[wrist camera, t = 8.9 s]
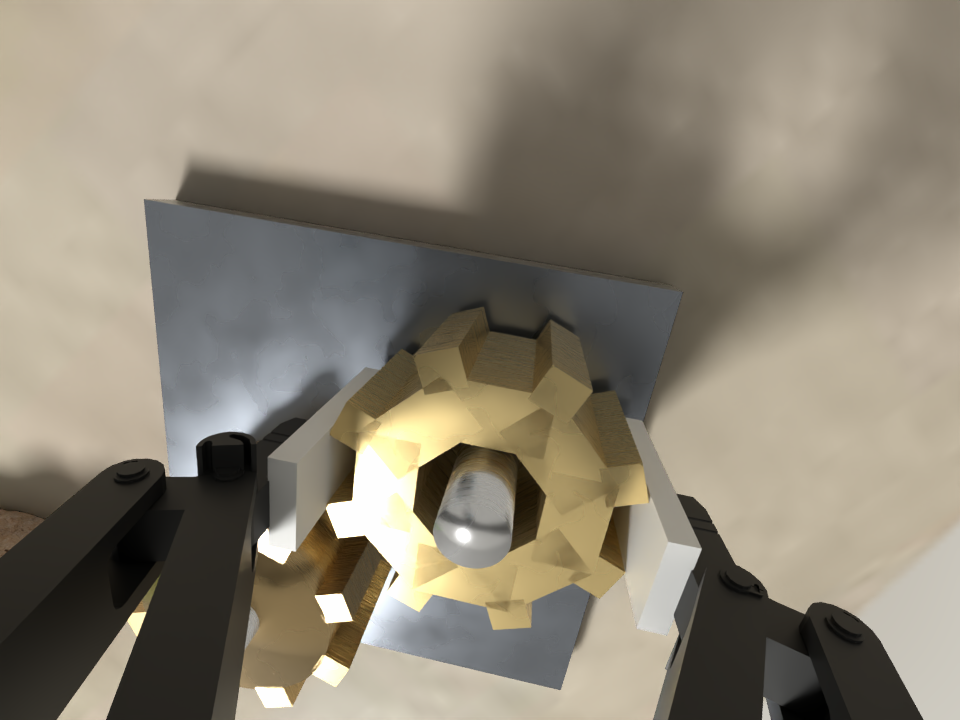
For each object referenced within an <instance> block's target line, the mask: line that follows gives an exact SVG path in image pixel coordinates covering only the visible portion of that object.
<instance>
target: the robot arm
mask: <svg viewBox="0 0 960 720" xmlns="http://www.w3.org/2000/svg"><path fill="white" fill-rule="evenodd" d="M378 371H379V370H377V369H372V368H367V367H365V368H364V369H363V370H362V371H361V372H360V373H359V374H358V375H357V376H356V377H354V378H353V379H352V380H351V381H350V382H349V383H348V384H347V385H346V386H345V387H344V388H342V389H341V390H340V391H339V392H338V393H337V394H336V395H335V396H334V397H333V398H332V399H330V400H329V401H328V402H327V403H326V404H325V405H324V406H323V407H322V408H321V409H320V410H318V411H317V412H316V413H315V414H314V415H313V416H312V417H311V418H310V419H309V420H306V419H301V418H296V417H295V418H293V419H290V420H288V421H285V422H283V423H281V424H279V425H278V426H277V427H276V428H275V429H273V430H272V431H271V433H269V434H267V435H266V436H265V437H264V438H263V440H260V441H259V442H258V443H257V444H256V439H255V438H254V437H252V436H251V435H249V434H246V433H242V432H223V433H218V434H214V435H211V436H208V437H206V438H204V439H203V440H201V441H200V442H199V443H198V444H197V445H196V457H197V472H198V476H196V477H166V476H165V468H164V465H163V464H162V463H160V462H159V461H157V460H152V459H132V460H127V461H123V462H120V463H118V464H115V465H112V466H110V467H109V468H107V469H105V470H104V471H102V472H101V473H100V474H98V475H97V476H96V477H95V478H94V479H93V480H91V481H90V482H89V483H88V484H87V485H86V486H84V487H83V488H82V489H81V490H80V491H78V492H77V493H76V494H75V495H74V496H73V497H71V498H70V499H69V500H68V501H67V502H65V503H64V504H63V505H62V506H61V507H60V508H58V509H57V510H56V511H55V512H54V513H52V514H51V515H50V516H49V517H48V518H47V519H45V520H44V521H43V522H42V523H41V524H39V525H38V526H37V527H36V528H35V529H34V530H32V531H31V532H30V533H29V534H28V535H26V536H25V537H24V538H23V539H22V540H21V541H19V542H18V543H17V544H16V545H15V546H13V547H12V548H11V549H10V550H9V551H8V552H6V553H5V554H4V555H3V556H2V557H1V558H0V720H57V718H58V717H59V715H60V714H61V713H62V711H63V710H64V708H65V707H66V706H67V704H68V703H69V701H70V700H71V699H72V697H73V696H74V694H75V693H76V692H77V690H78V689H79V687H80V686H81V685H82V683H83V682H84V680H85V679H86V678H87V676H88V675H89V673H90V672H91V671H92V669H93V668H94V666H95V665H96V664H97V662H98V661H99V659H100V658H101V657H102V655H103V654H104V652H105V651H106V650H107V648H108V647H109V645H110V644H111V643H112V641H113V640H114V638H115V637H116V636H117V634H118V633H119V631H120V630H121V629H122V627H123V626H124V624H125V623H126V622H127V620H128V619H129V617H130V616H131V615H132V613H133V612H134V610H135V609H136V608H137V606H138V605H139V603H140V602H141V601H142V599H143V598H144V596H145V595H146V594H147V592H148V591H149V589H150V588H151V587H152V585H153V584H154V582H155V581H156V580H157V578H158V577H159V575H160V574H161V575H160V577H159V580H158V583H157V585H156V588H155V591H154V593H153V596H152V599H151V601H150V604H149V607H148V609H147V612H146V615H145V617H144V620H143V623H142V625H141V628H140V631H139V633H138V636H137V639H136V641H135V644H134V647H133V649H132V652H131V655H130V657H129V660H128V663H127V665H126V668H125V671H124V673H123V676H122V679H121V681H120V684H119V687H118V689H117V692H116V695H115V697H114V700H113V703H112V705H111V708H110V711H109V713H108V716H107V719H106V720H235V714H236V707H237V700H238V693H239V686H240V679H241V671H242V664H243V657H244V650H245V643H246V636H247V629H248V622H249V615H250V608H251V601H252V594H253V587H254V580H255V573H256V565H257V558H258V540H259V539H260V538H261V536H262V535H263V534H264V533H265V532H266V530H267V529H268V546H272V547H276V548H281V549H285V550H290V551H294V552H296V551H297V549H298V548H299V546H300V545H301V544H302V542H303V541H304V539H305V538H306V536H307V535H308V534H309V532H310V531H311V529H312V528H313V527H314V525H315V524H316V522H317V521H318V520H319V518H320V517H321V515H322V514H323V513H324V511H325V510H326V504H327V503H328V502H329V500H330V499H331V497H332V496H333V495H334V493H335V492H336V491H337V489H338V488H339V486H340V485H341V484H342V482H343V481H344V480H345V478H346V477H347V475H348V474H349V473H350V471H351V470H352V469H353V467H354V466H355V463H356V451H355V450H353V449H352V448H350V447H348V446H347V445H345V444H344V443H342V442H340V441H339V440H337V439H335V438H334V437H332V436H330V431H331V429H332V427H333V426H334V424H335V422H336V420H337V418H338V417H339V415H340V413H341V411H342V409H343V408H344V406H345V404H346V402H347V401H348V400H349V399H350V398H351V397H352V396H353V395H354V394H355V393H356V392H357V391H358V390H359V389H360V388H362V387H363V386H364V385H365V384H366V383H367V382H368V381H369V380H370V379H371V378H372V377H373V376H374V375H375V374H376V373H377V372H378ZM625 418H626V417H625ZM626 421H627V423H628V426H629V428H630V431H631V434H632V436H633V439H634V441H635V444H636V447H637V449H638V452H639V455H640V457H641V460H642V462H643V467H644V474H645V481H646V487H647V494H648V500H649V503H644V504H635V505H626V506H618V507H614V508H613V511H612V515H613V520H614V524H615V528H616V533H617V537H618V541H619V546H620V551H621V555H622V560H623V564H624V569H625V574H624V575H625V579H626V584H627V588H628V593H629V597H630V602H631V606H632V611H633V615H634V620H635V624H636V629H640V630H644V631H649V632H653V633H658V634H662V635H666V636H667V635H668V632H669V630H670V627H671V625H672V622H673V620H674V618H675V621H676V625H677V628H678V631H679V636H678V638H677V641H676V643H675V645H674V648H673V650H672V653H671V655H670V657H669V660H668V662H667V665H666V667H665V669H666V670H667V673H666V676H665V680H664V684H663V687H662V691H661V694H660V698H659V701H658V705H657V708H656V712H655V715H654V719H653V720H762V708H763V697H765V698H766V700H767V705H768V709H769V713H770V717H771V720H923V718H922V716H921V715H920V713H919V711H918V709H917V707H916V705H915V704H914V702H913V700H912V698H911V696H910V694H909V693H908V691H907V689H906V687H905V685H904V684H903V682H902V680H901V678H900V676H899V674H898V673H897V671H896V669H895V667H894V665H893V663H892V661H891V660H890V658H889V656H888V654H887V652H886V651H885V649H884V647H883V645H882V643H881V641H880V640H879V639H878V637H877V636H876V635H875V633H874V632H873V631H872V630H871V629H870V628H869V627H868V626H867V625H865V624H864V623H863V622H862V621H861V620H860V619H859V618H857V617H856V616H854V615H852V614H851V613H849V612H848V611H846V610H843V609H841V608H839V607H837V606H834V605H831V604H827V603H823V602H819V603H812V605H811V606H810V607H809V608H808V610H807V612H806V614H803V613H800V612H798V611H796V610H793V609H791V608H789V607H787V606H784V605H782V604H780V603H777V602H775V601H773V600H771V599H769V598H768V594H767V590H766V589H765V587H764V586H763V585H762V583H761V582H760V581H759V580H758V579H757V578H756V577H755V576H753V575H752V574H751V573H750V572H748V571H746V570H745V569H743V568H741V567H740V566H737V565H735V563H734V561H733V559H732V557H731V555H730V553H729V552H728V550H727V548H726V546H725V544H724V542H723V540H722V539H721V537H720V535H719V534H718V531H717V529H716V527H715V526H714V524H712V520H711V518H710V516H709V515H708V513H707V511H706V509H705V508H704V507H703V506H702V505H701V504H700V503H699V502H698V501H697V500H695V499H694V498H693V497H690V496H685V495H680V494H676V492H675V490H674V488H673V486H672V484H671V481H670V479H669V477H668V475H667V473H666V471H665V469H664V466H663V464H662V462H661V460H660V458H659V456H658V454H657V451H656V449H655V447H654V445H653V443H652V441H651V439H650V436H649V434H648V432H647V430H646V428H645V426H644V423H643V421H641V420H636V419H631V418H626Z"/></svg>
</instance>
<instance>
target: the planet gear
mask: <svg viewBox="0 0 960 720" xmlns="http://www.w3.org/2000/svg"><path fill="white" fill-rule="evenodd" d="M592 392H593V389H592V385H591V381H590V377H589V373H588V370H587V366H586V362H585V358H584V354H583V350H582V347H581V343H580V339H579V337H578V336H576V335H575V334H573V333H572V332H570V331H568V330H567V329H565V328H564V327H562V326H561V325H559V324H558V323H556V322H554V321H553V320H551V319H550V320H549V322H548V323H547V325H546V326H545V327H544V329H543V330H542V332H541V333H540V335H539V336H538V338H537V339H536V340H535V339H530V338H525V337H519V336H514V335H509V334H504V333H498V332H493V331H490V330H489V326H488V322H487V318H486V313H485V309H484V307H480V308H475V309H470V310H465V311H461V312H456V313H452V314H451V315H450V316H449V317H448V318H447V319H446V320H445V321H444V322H443V323H442V325H441V326H440V327H439V328H438V329H437V330H436V331H435V332H434V333H433V334H432V336H431V337H430V338H429V339H428V340H427V341H426V342H425V343H424V344H423V346H422V347H421V348H420V349H419V350H418V351H417V352H416V353H415V354H414V355H411V354H410V353H408V352H407V351H405V350H403V349H401V350H400V351H399V352H398V353H397V354H396V355H395V356H394V357H393V358H392V359H390V360H389V361H388V362H387V363H386V364H385V365H384V366H383V367H382V368H381V369H380V370H379V371H378V372H377V373H376V374H375V375H374V376H373V377H372V378H371V379H370V380H369V381H368V382H367V383H366V384H365V385H364V386H363V387H362V388H360V389H359V390H358V391H357V392H356V393H355V394H354V395H353V396H352V397H351V398H350V399H349V400H348V401H347V402H346V404H345V406H344V408H343V409H342V411H341V413H340V415H339V417H338V418H337V420H336V422H335V424H334V426H333V427H332V429H331V431H330V436H332V437H334V438H335V439H337V440H339V441H340V442H342V443H344V444H345V445H347V446H348V447H350V448H352V449H353V450H355V451H356V463H355V466H354V467H353V469H352V470H351V471H350V473H349V474H348V475H347V477H346V478H345V480H344V481H343V482H342V484H341V485H340V486H339V488H338V489H337V491H336V492H335V493H334V495H333V496H332V497H331V499H330V500H329V502H328V503H327V504H326V508H327V511H328V513H329V516H330V519H331V521H332V524H333V526H334V529H335V532H336V534H337V537H338V538H342V537H351V536H360V535H366V537H367V538H368V539H369V540H370V541H371V542H372V543H373V545H374V546H375V547H376V548H377V549H378V550H379V552H380V553H381V554H382V555H383V556H384V557H385V558H386V560H387V561H388V562H389V563H390V564H391V565H392V567H393V568H394V569H395V570H396V571H395V573H394V576H393V578H392V580H391V583H390V585H389V588H388V590H387V592H386V593H388V594H389V595H391V596H393V597H394V598H396V599H398V600H399V601H401V602H403V603H405V604H406V605H408V606H410V607H411V608H413V609H415V610H416V611H418V612H419V611H420V610H421V609H422V608H423V606H424V605H425V604H426V603H427V601H428V600H429V599H430V597H431V596H432V595H437V596H441V597H446V598H450V599H454V600H458V601H462V602H467V603H471V604H475V605H479V606H483V607H487V611H488V614H489V618H490V621H491V625H492V628H493V630H501V629H516V628H531V618H532V601H534V600H536V599H538V598H541V597H543V596H545V595H548V594H550V593H552V592H554V591H557V590H559V589H561V588H563V587H566V586H568V585H570V584H572V583H574V584H576V585H578V586H579V587H581V588H583V589H584V590H586V591H587V592H589V593H591V594H592V595H594V596H596V597H597V598H599V599H600V598H601V597H602V596H603V595H604V594H605V593H606V592H607V591H608V590H609V589H610V588H611V587H612V586H613V585H614V584H615V583H616V582H617V581H618V580H619V579H620V578H621V577H622V576H623V575H624V574H625V569H624V564H623V560H622V555H621V551H620V546H619V541H618V537H617V533H616V528H615V524H614V520H613V515H612V511H613V508H614V507H618V506H626V505H635V504H644V503H649V500H648V494H647V487H646V481H645V474H644V467H643V462H642V460H641V457H640V455H639V452H638V449H637V447H636V444H635V441H634V439H633V436H632V434H631V431H630V428H629V426H628V423H627V421H626V418H625V415H624V413H623V410H622V407H621V405H620V402H619V400H618V397H617V394H616V392H615V390H613V391H607V392H601V393H595V394H591V393H592ZM460 442H461V443H466V444H470V445H475V446H480V447H485V448H489V449H494V450H499V451H504V452H508V453H513V454H516V456H517V457H518V458H519V459H520V461H519V463H518V474H517V486H516V497H515V508H514V519H513V530H512V541H511V547H510V550H509V552H508V553H507V555H506V556H505V557H504V558H503V559H502V560H501V561H500V562H498V563H497V564H495V565H493V566H490V567H486V568H478V569H475V568H467V567H463V566H460V565H457V564H455V563H453V562H452V561H450V560H449V559H447V558H446V557H445V556H444V555H443V554H442V553H441V552H440V551H439V549H438V548H437V546H436V544H435V541H434V537H433V527H434V523H435V520H436V517H437V514H438V512H439V509H440V506H441V503H442V500H443V497H444V494H445V491H446V488H447V485H448V482H449V479H450V476H451V473H452V470H453V467H454V464H455V461H456V458H457V455H458V452H459V449H460V447H459V446H458V444H459V443H460Z"/></svg>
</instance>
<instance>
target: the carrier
mask: <svg viewBox="0 0 960 720" xmlns="http://www.w3.org/2000/svg"><path fill="white" fill-rule="evenodd" d="M144 204H145V215H146V226H147V237H148V247H149V258H150V269H151V279H152V290H153V301H154V312H155V322H156V333H157V344H158V354H159V365H160V376H161V387H162V397H163V408H164V419H165V429H166V440H167V451H168V462H169V472H170V477H196V476H198V472H197V457H196V445H197V444H198V443H199V442H200V441H201V440H203V439H204V438H206V437H208V436H211V435H214V434H218V433H223V432H242V433H246V434H249V435H251V436H252V437H254V438H255V439H256V444H257V443H258V442H259V441H260V440H263V438H264V437H265V436H266V435H267V434H269V433H271V431H272V430H273V429H275V428H276V427H277V426H278V425H279V424H281V423H283V422H285V421H288V420H290V419H293V418H295V417H296V418H301V419H306V420H309V419H310V418H311V417H312V416H313V415H314V414H315V413H316V412H317V411H318V410H320V409H321V408H322V407H323V406H324V405H325V404H326V403H327V402H328V401H329V400H330V399H332V398H333V397H334V396H335V395H336V394H337V393H338V392H339V391H340V390H341V389H342V388H344V387H345V386H346V385H347V384H348V383H349V382H350V381H351V380H352V379H353V378H354V377H356V376H357V375H358V374H359V373H360V372H361V371H362V370H363V369H364V368H365V367H367V368H372V369H377V370H380V369H381V368H382V367H383V366H384V365H385V364H386V363H387V362H388V361H389V360H390V359H392V358H393V357H394V356H395V355H396V354H397V353H398V352H399V351H400V350H401V349H403V350H405V351H407V352H408V353H410V354H411V355H414V354H415V353H416V352H417V351H418V350H419V349H420V348H421V347H422V346H423V344H424V343H425V342H426V341H427V340H428V339H429V338H430V337H431V336H432V334H433V333H434V332H435V331H436V330H437V329H438V328H439V327H440V326H441V325H442V323H443V322H444V321H445V320H446V319H447V318H448V317H449V316H450V315H451V314H452V313H456V312H461V311H465V310H470V309H475V308H480V307H484V309H485V313H486V318H487V322H488V326H489V330H490V331H493V332H498V333H504V334H509V335H514V336H519V337H525V338H530V339H535V340H536V339H537V338H538V336H539V335H540V333H541V332H542V330H543V329H544V327H545V326H546V325H547V323H548V322H549V320H550V319H551V320H553V321H554V322H556V323H558V324H559V325H561V326H562V327H564V328H565V329H567V330H568V331H570V332H572V333H573V334H575V335H576V336H578V337H579V339H580V343H581V347H582V350H583V354H584V358H585V362H586V366H587V370H588V373H589V377H590V381H591V385H592V389H593V392H592V393H591V394H595V393H601V392H607V391H613V390H615V392H616V394H617V397H618V400H619V402H620V405H621V407H622V410H623V413H624V415H625V417H626V418H631V419H636V420H641V421H644V417H645V414H646V411H647V408H648V404H649V401H650V398H651V395H652V391H653V388H654V385H655V382H656V378H657V375H658V372H659V369H660V365H661V362H662V359H663V356H664V352H665V349H666V346H667V343H668V339H669V336H670V333H671V330H672V326H673V323H674V320H675V317H676V313H677V310H678V307H679V304H680V300H681V297H682V294H683V292H682V291H680V290H679V289H677V288H675V287H674V286H672V285H668V284H662V283H657V282H651V281H645V280H639V279H633V278H627V277H622V276H616V275H610V274H604V273H598V272H592V271H587V270H581V269H575V268H569V267H563V266H557V265H552V264H546V263H540V262H534V261H528V260H522V259H517V258H511V257H505V256H499V255H493V254H487V253H482V252H476V251H470V250H464V249H458V248H452V247H447V246H441V245H435V244H429V243H423V242H417V241H412V240H406V239H400V238H394V237H388V236H382V235H377V234H371V233H365V232H359V231H353V230H347V229H342V228H336V227H330V226H324V225H318V224H312V223H307V222H301V221H295V220H289V219H283V218H277V217H272V216H266V215H260V214H254V213H248V212H242V211H237V210H231V209H225V208H219V207H213V206H207V205H202V204H196V203H190V202H184V201H178V200H156V199H144ZM458 446H459V447H460V449H459V452H458V455H457V458H456V461H455V464H454V467H453V470H452V473H451V476H450V479H449V482H448V485H447V488H446V491H445V494H444V497H443V500H442V503H441V506H440V509H439V512H438V514H437V517H436V520H435V523H434V527H433V537H434V541H435V544H436V546H437V548H438V549H439V551H440V552H441V553H442V554H443V555H444V556H445V557H446V558H447V559H449V560H450V561H452V562H453V563H455V564H457V565H460V566H463V567H467V568H475V569H478V568H486V567H490V566H493V565H495V564H497V563H498V562H500V561H501V560H502V559H503V558H504V557H505V556H506V555H507V553H508V552H509V550H510V547H511V541H512V530H513V519H514V508H515V497H516V486H517V474H518V463H519V461H520V459H519V458H518V457H517V456H516V454H513V453H508V452H504V451H499V450H494V449H489V448H485V447H480V446H475V445H470V444H466V443H461V442H460V443H459V444H458ZM395 571H396V570H395V569H394V568H393V567H392V565H391V564H390V563H389V562H388V561H387V560H386V558H385V557H384V556H383V555H382V554H381V553H380V552H379V550H378V549H377V548H376V547H375V546H374V545H373V543H372V542H371V541H370V540H369V539H368V538H367V537H366V535H360V536H351V537H342V538H338V537H337V534H336V532H335V529H334V526H333V524H332V521H331V519H330V516H329V513H328V511H327V508H326V510H325V511H324V513H323V514H322V515H321V517H320V518H319V520H318V521H317V522H316V524H315V525H314V527H313V528H312V529H311V531H310V532H309V534H308V535H307V536H306V538H305V539H304V541H303V542H302V544H301V545H300V546H299V548H298V549H297V551H296V552H294V551H290V550H285V549H281V548H276V547H272V546H268V529H267V530H266V532H265V533H264V534H263V535H262V536H261V538H260V539H259V540H258V558H257V565H256V573H255V580H254V587H253V594H252V601H251V608H250V615H249V622H248V629H247V636H246V643H245V650H244V657H243V664H242V671H241V679H240V686H239V687H244V688H250V689H256V691H257V693H258V694H259V696H260V698H261V700H262V702H263V704H264V706H265V708H269V707H292V706H293V704H294V702H295V700H296V698H297V696H298V694H299V692H300V690H301V688H302V686H303V684H304V682H305V680H306V678H308V677H309V676H310V675H311V674H313V675H315V676H317V677H319V678H320V679H322V680H324V681H326V682H328V683H329V684H331V685H333V686H335V687H336V686H337V685H338V683H339V682H340V681H341V679H342V678H343V677H344V675H345V674H346V673H347V671H348V670H349V668H350V666H351V663H352V661H353V659H354V656H355V654H356V651H357V649H358V647H359V644H360V643H365V644H369V645H373V646H377V647H381V648H386V649H390V650H394V651H398V652H402V653H407V654H411V655H415V656H419V657H423V658H428V659H432V660H436V661H440V662H444V663H449V664H453V665H457V666H461V667H465V668H470V669H474V670H478V671H482V672H486V673H491V674H495V675H499V676H503V677H507V678H512V679H516V680H520V681H524V682H528V683H533V684H537V685H541V686H545V687H549V688H554V689H558V690H561V687H562V684H563V681H564V677H565V674H566V671H567V668H568V664H569V661H570V658H571V655H572V651H573V648H574V645H575V642H576V638H577V635H578V632H579V629H580V625H581V622H582V619H583V616H584V612H585V609H586V606H587V603H588V599H589V596H590V593H589V592H587V591H586V590H584V589H583V588H581V587H579V586H578V585H576V584H574V583H572V584H570V585H568V586H566V587H563V588H561V589H559V590H557V591H554V592H552V593H550V594H548V595H545V596H543V597H541V598H538V599H536V600H534V601H532V618H531V628H516V629H501V630H493V628H492V625H491V621H490V618H489V614H488V611H487V607H483V606H479V605H475V604H471V603H467V602H462V601H458V600H454V599H450V598H446V597H441V596H437V595H432V596H431V597H430V599H429V600H428V601H427V603H426V604H425V605H424V606H423V608H422V609H421V610H420V611H419V612H418V611H416V610H415V609H413V608H411V607H410V606H408V605H406V604H405V603H403V602H401V601H399V600H398V599H396V598H394V597H393V596H391V595H389V594H388V593H386V592H387V590H388V588H389V585H390V583H391V580H392V578H393V576H394V573H395ZM160 575H161V574H160ZM160 575H159V577H160ZM159 577H158V578H157V580H156V581H155V582H154V584H153V585H152V587H151V588H150V589H149V591H148V592H147V594H146V595H145V596H144V598H143V599H142V601H141V602H140V603H139V605H138V606H137V608H136V609H135V610H134V612H133V613H132V615H131V616H130V617H129V619H128V620H127V621H128V622H129V624H130V626H131V627H132V629H133V631H134V632H135V634H136V636H138V633H139V631H140V628H141V625H142V623H143V620H144V617H145V615H146V612H147V609H148V607H149V604H150V601H151V599H152V596H153V593H154V591H155V588H156V585H157V583H158V580H159Z"/></svg>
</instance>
